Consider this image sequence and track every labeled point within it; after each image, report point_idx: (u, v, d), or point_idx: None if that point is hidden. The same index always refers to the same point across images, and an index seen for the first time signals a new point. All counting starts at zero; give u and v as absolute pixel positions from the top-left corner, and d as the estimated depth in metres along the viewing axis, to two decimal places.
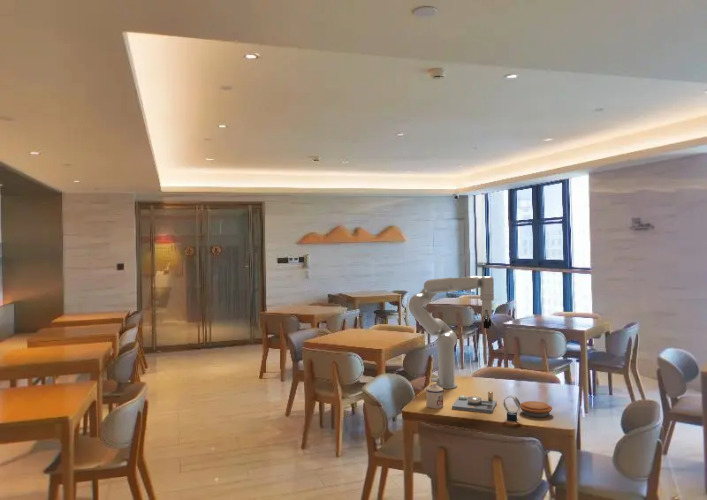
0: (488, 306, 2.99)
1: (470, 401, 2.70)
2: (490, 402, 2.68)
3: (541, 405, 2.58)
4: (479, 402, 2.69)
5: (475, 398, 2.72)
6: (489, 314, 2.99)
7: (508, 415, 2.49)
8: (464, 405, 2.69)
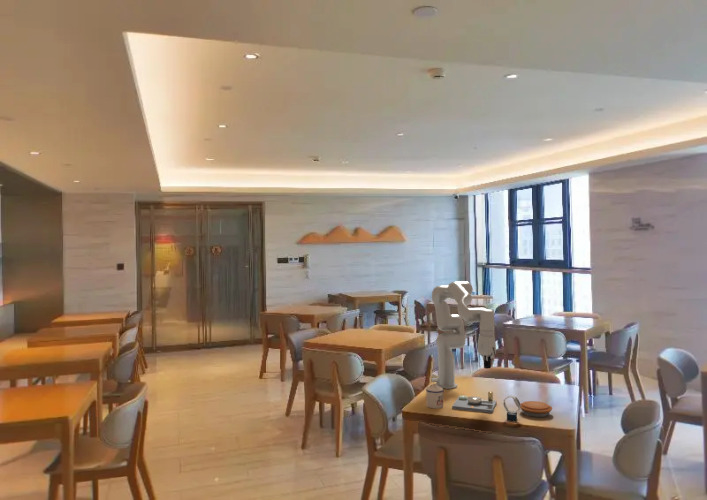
0: (494, 343, 2.72)
1: (470, 401, 2.70)
2: (490, 402, 2.68)
3: (541, 405, 2.58)
4: (479, 402, 2.69)
5: (475, 398, 2.72)
6: (495, 351, 2.72)
7: (508, 415, 2.49)
8: (464, 405, 2.69)
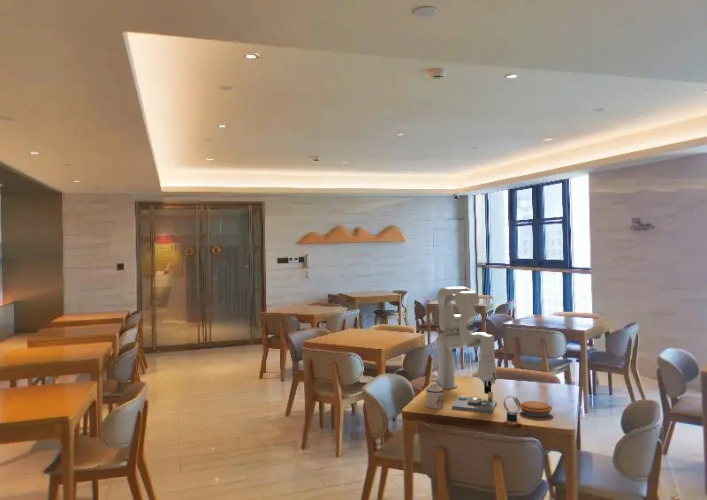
0: (495, 368, 2.72)
1: (470, 401, 2.70)
2: (490, 402, 2.68)
3: (541, 405, 2.58)
4: (479, 402, 2.69)
5: (475, 398, 2.72)
6: None
7: (508, 415, 2.49)
8: (464, 405, 2.69)
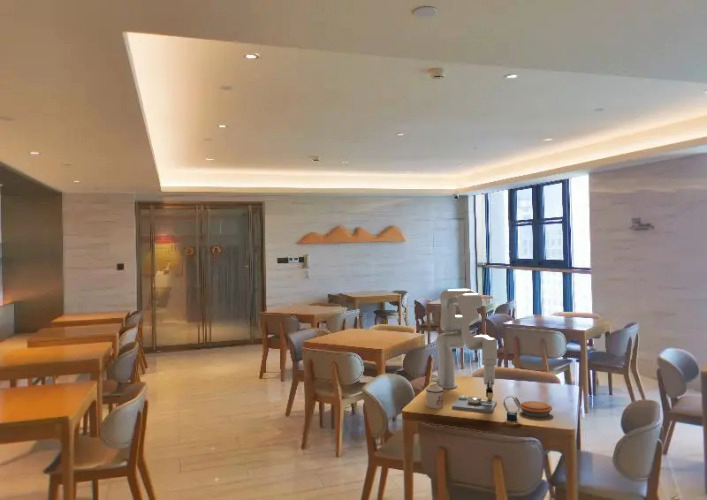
0: (492, 372, 2.67)
1: (469, 401, 2.71)
2: (489, 402, 2.67)
3: (541, 405, 2.58)
4: (478, 402, 2.69)
5: (475, 398, 2.72)
6: (493, 381, 2.67)
7: (508, 415, 2.49)
8: (464, 405, 2.69)
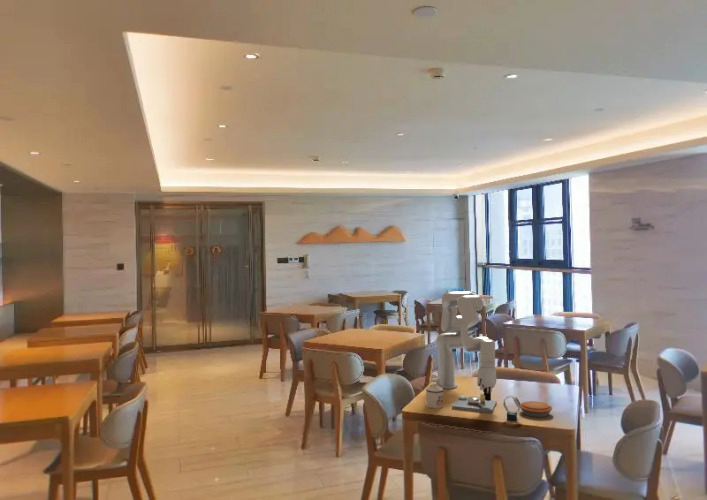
0: (483, 375, 2.63)
1: None
2: (481, 404, 2.64)
3: (541, 405, 2.58)
4: (473, 402, 2.69)
5: (474, 398, 2.72)
6: (484, 384, 2.62)
7: (508, 415, 2.49)
8: (464, 405, 2.69)
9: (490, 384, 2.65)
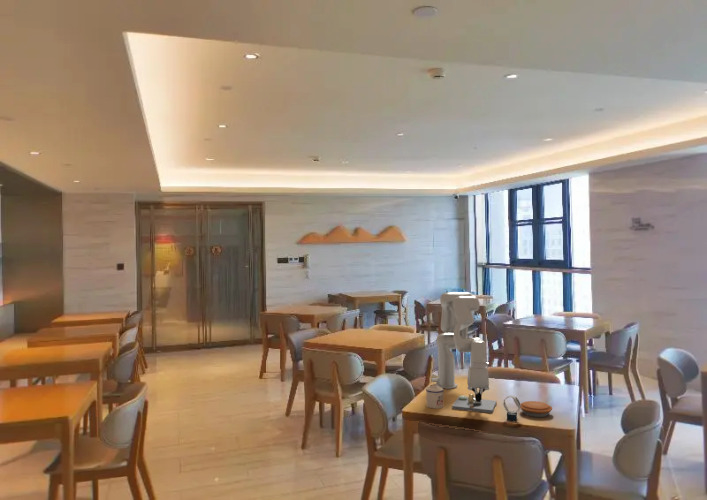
0: (469, 374, 2.64)
1: None
2: None
3: (541, 405, 2.58)
4: None
5: (474, 398, 2.72)
6: (469, 384, 2.63)
7: (508, 415, 2.49)
8: (464, 405, 2.69)
9: (478, 385, 2.63)
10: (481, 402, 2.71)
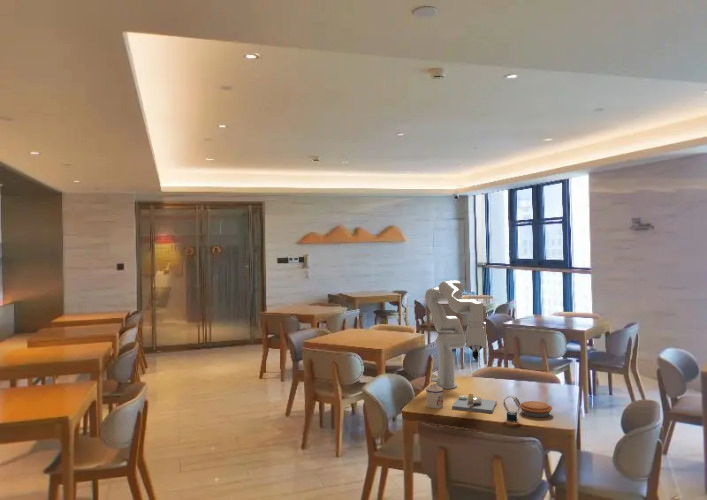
0: (467, 333, 2.83)
1: None
2: None
3: (541, 405, 2.58)
4: (469, 401, 2.71)
5: (474, 398, 2.72)
6: (467, 341, 2.82)
7: (508, 415, 2.49)
8: (464, 405, 2.69)
9: (475, 343, 2.82)
10: (481, 402, 2.71)
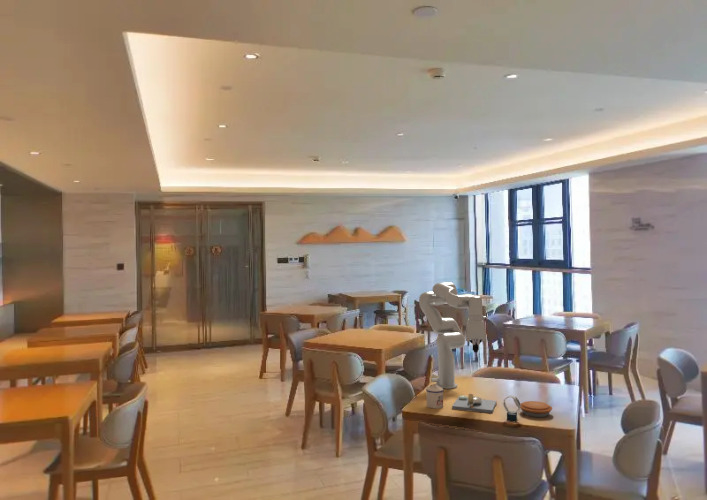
0: (467, 327, 2.88)
1: None
2: None
3: (541, 405, 2.58)
4: (469, 401, 2.71)
5: (474, 398, 2.72)
6: (467, 335, 2.88)
7: (508, 415, 2.49)
8: (464, 405, 2.69)
9: (475, 337, 2.87)
10: (481, 402, 2.71)
